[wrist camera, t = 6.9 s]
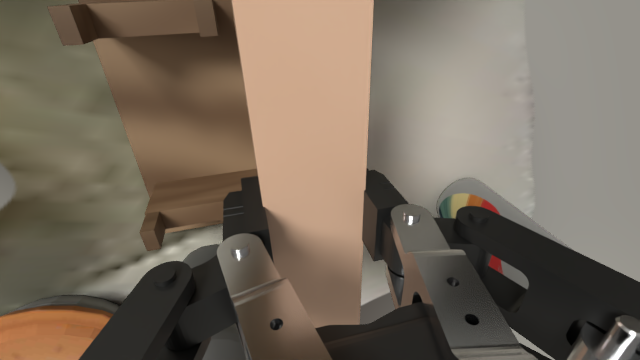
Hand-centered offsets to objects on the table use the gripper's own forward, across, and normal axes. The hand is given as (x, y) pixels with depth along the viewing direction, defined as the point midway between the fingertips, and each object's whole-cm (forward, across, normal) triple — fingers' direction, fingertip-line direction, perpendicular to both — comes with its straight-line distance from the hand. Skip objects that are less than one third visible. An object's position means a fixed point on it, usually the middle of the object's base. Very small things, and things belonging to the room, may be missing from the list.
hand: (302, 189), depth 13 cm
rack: (+13, +3, 0) cm, 14 cm away
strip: (+1, 0, 0) cm, 1 cm away
